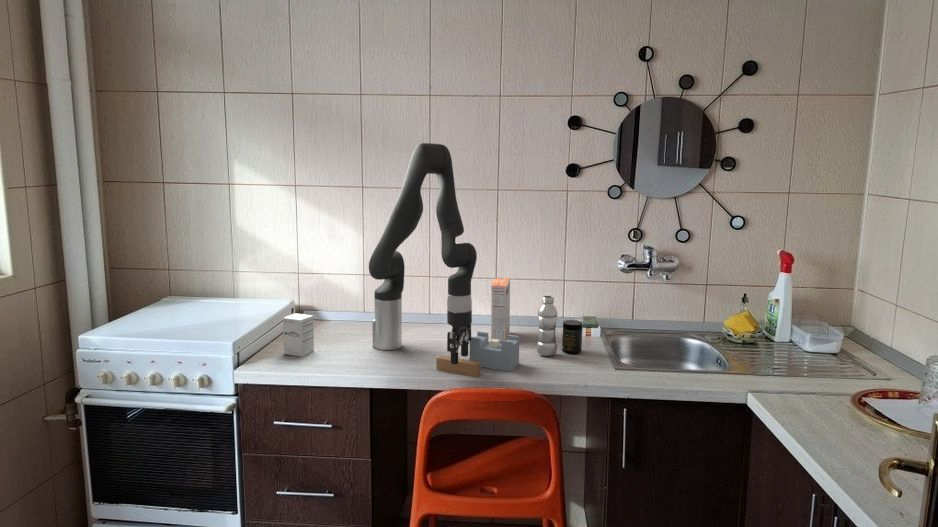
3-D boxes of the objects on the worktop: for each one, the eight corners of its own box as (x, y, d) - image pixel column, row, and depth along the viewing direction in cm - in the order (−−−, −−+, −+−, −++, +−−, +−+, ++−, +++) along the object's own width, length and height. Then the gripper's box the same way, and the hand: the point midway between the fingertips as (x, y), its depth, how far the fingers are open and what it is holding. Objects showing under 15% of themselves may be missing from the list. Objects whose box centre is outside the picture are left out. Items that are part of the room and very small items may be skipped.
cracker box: (493, 332, 257) (494, 277, 254) (509, 332, 257) (511, 277, 253) (489, 342, 244) (490, 284, 240) (506, 343, 243) (507, 285, 239)
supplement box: (283, 354, 227) (281, 317, 225) (296, 348, 234) (295, 312, 232) (301, 357, 224) (300, 319, 222) (315, 351, 231) (314, 314, 229)
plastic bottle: (555, 358, 226) (558, 299, 223) (535, 357, 227) (537, 298, 224) (557, 353, 232) (559, 295, 229) (537, 351, 234) (539, 294, 230)
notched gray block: (469, 365, 218) (469, 337, 217) (478, 358, 226) (478, 331, 224) (511, 371, 214) (512, 342, 212) (518, 363, 221) (519, 335, 219)
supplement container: (583, 355, 230) (584, 325, 229) (562, 354, 231) (563, 324, 229) (580, 349, 237) (581, 320, 235) (560, 348, 237) (561, 319, 235)
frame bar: (436, 370, 214) (436, 357, 214) (441, 367, 217) (441, 355, 216) (476, 377, 208) (476, 365, 207) (480, 374, 210) (480, 362, 210)
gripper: (456, 302, 217) (456, 352, 219) (438, 312, 204) (439, 365, 206) (479, 304, 214) (478, 354, 217) (462, 314, 201) (462, 368, 204)
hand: (459, 359), depth 212 cm, fingers open, 8 cm apart
